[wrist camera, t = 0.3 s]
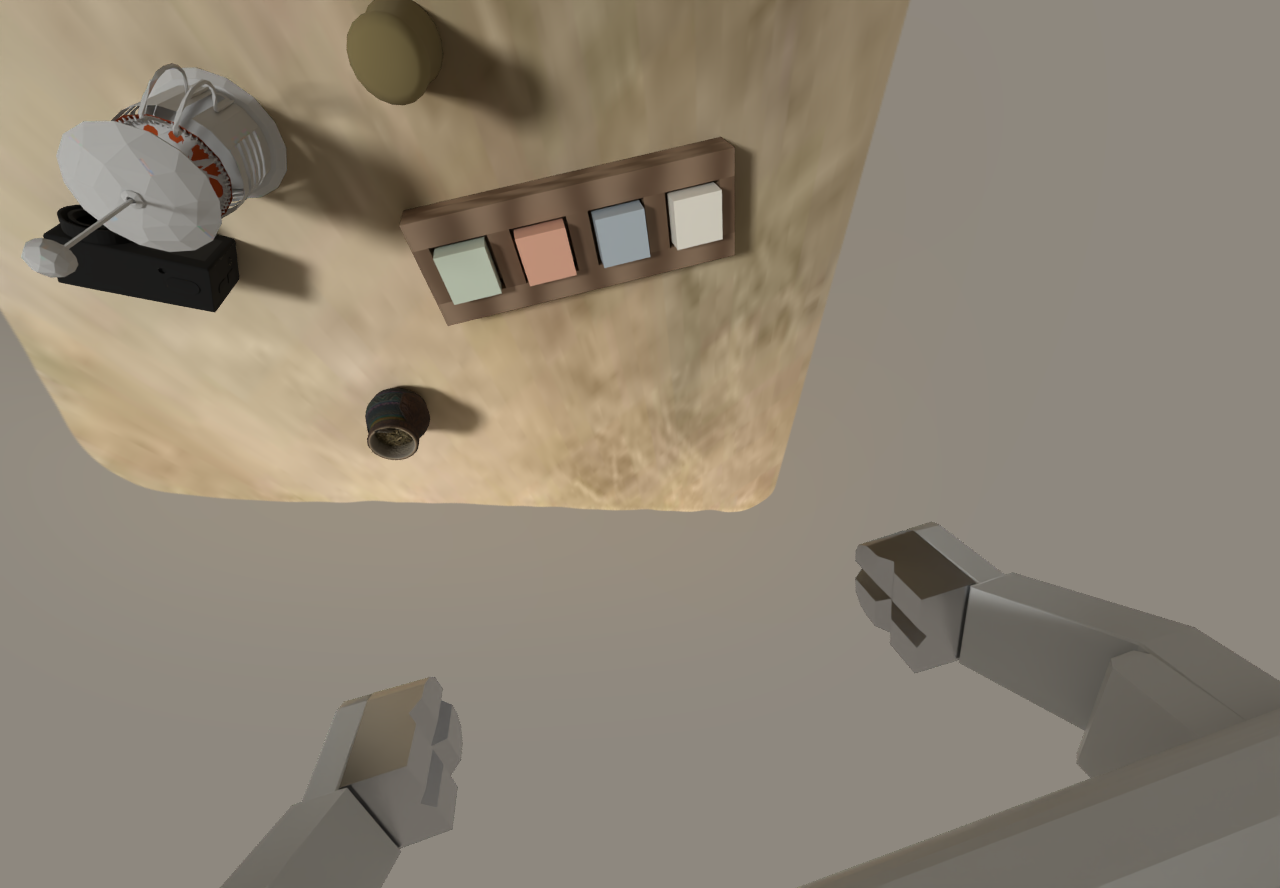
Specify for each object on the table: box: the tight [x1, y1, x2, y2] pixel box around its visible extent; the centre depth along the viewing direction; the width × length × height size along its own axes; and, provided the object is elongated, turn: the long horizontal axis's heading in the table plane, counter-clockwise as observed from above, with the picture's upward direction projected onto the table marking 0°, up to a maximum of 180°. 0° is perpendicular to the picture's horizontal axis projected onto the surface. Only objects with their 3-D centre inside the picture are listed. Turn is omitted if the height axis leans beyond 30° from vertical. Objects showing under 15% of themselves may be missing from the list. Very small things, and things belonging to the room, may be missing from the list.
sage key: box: [433, 237, 502, 305], centre depth 50 cm, size 5×5×2 cm
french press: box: [21, 63, 287, 277], centre depth 33 cm, size 10×12×25 cm
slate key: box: [591, 200, 650, 268], centre depth 51 cm, size 5×5×2 cm
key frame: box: [399, 137, 735, 326], centre depth 53 cm, size 33×11×4 cm, turn 98°
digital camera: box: [43, 205, 239, 312], centre depth 44 cm, size 10×5×7 cm, turn 67°
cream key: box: [667, 182, 723, 250], centre depth 52 cm, size 5×5×2 cm
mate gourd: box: [365, 388, 430, 460], centre depth 61 cm, size 7×8×10 cm
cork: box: [347, 0, 443, 105], centre depth 37 cm, size 6×6×11 cm
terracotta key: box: [514, 218, 577, 286], centre depth 51 cm, size 5×5×2 cm
